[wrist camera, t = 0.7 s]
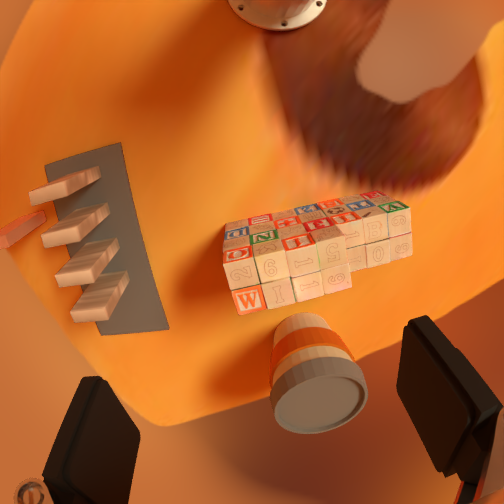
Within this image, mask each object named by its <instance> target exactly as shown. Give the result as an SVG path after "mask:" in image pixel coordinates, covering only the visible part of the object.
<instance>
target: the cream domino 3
mask: <svg viewBox="0 0 504 504" xmlns="http://www.w3.org/2000/svg"><path fill="white" fill-rule="evenodd" d="M119 249H120V246H119V243H118V239H117V237H115V238H110V239H105V240H99V241H94V242H89V243H86V244H85V245H84V246H83V247H82V248H81V249H80V250H79V251H78V252H77V253H76V254H75V255H74V256H73V257H72V258H71V259H70V260H69V261H68V262H67V263H66V264H65V265H64V266H63V267H62V268H61V269H60V270H59V271H58V273H57V274H56V275H55V278H56V280H57V283H58V285H59V288H61V287H68V286H75V285H83V284H90V283H94V282H95V281H96V279H97V278H98V277H99V275H100V274H101V272H102V271H103V270H104V268H105V267H106V266H107V264H108V263H109V262H110V260H111V259H112V258H113V256H114V255H115V254H116V253H117V251H118V250H119Z"/></svg>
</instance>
